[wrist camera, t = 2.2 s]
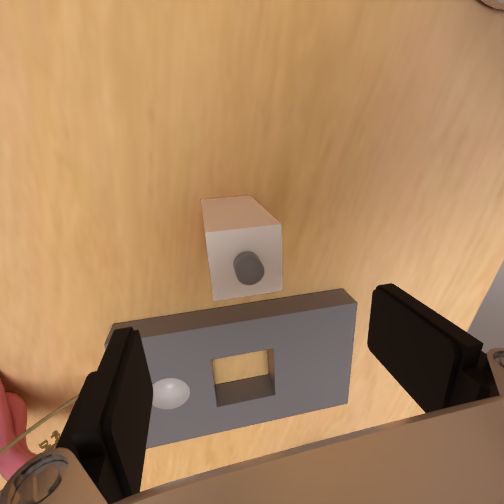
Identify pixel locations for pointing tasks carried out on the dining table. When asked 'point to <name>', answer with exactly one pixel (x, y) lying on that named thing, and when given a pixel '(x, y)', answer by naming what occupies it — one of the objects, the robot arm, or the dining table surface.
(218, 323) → the block
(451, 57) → the dining table surface
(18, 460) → the anatomy model
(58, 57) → the dining table surface
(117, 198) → the dining table surface
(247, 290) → the white square peg
